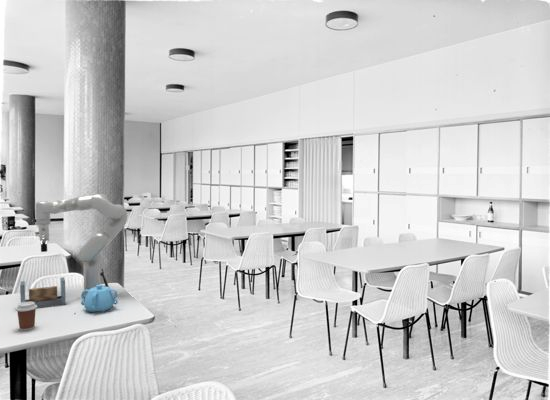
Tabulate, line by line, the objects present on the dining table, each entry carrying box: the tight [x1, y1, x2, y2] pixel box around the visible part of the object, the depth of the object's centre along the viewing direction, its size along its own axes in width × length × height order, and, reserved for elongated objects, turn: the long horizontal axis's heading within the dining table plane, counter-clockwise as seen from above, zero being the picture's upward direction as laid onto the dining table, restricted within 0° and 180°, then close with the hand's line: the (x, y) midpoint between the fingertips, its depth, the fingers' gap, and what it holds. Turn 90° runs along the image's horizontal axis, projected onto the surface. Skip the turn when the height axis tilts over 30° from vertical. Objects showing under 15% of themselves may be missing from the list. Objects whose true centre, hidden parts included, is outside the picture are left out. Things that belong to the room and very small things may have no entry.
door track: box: [19, 277, 67, 310], centre depth 251 cm, size 22×9×14 cm, turn 118°
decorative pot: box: [80, 284, 119, 313], centre depth 244 cm, size 16×16×14 cm
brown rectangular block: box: [28, 285, 58, 302], centre depth 251 cm, size 14×3×9 cm, turn 118°
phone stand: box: [100, 268, 110, 288], centre depth 290 cm, size 9×6×12 cm, turn 113°
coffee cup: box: [15, 302, 38, 331], centre depth 214 cm, size 9×9×12 cm
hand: (44, 250), depth 267 cm, fingers open, 9 cm apart
